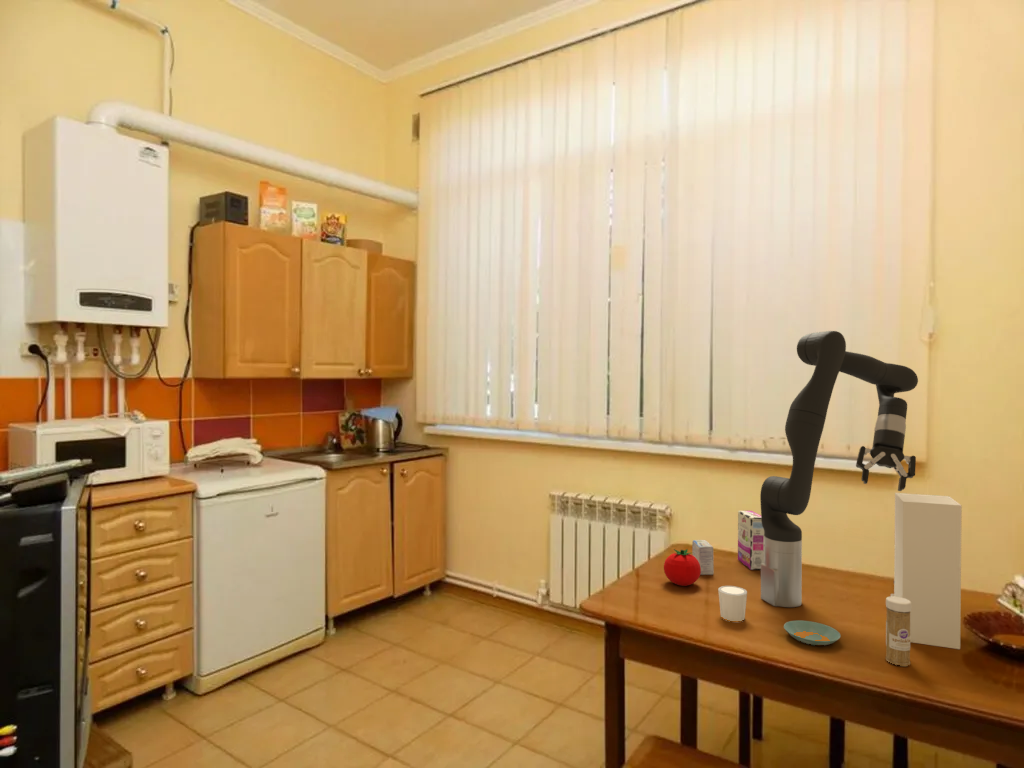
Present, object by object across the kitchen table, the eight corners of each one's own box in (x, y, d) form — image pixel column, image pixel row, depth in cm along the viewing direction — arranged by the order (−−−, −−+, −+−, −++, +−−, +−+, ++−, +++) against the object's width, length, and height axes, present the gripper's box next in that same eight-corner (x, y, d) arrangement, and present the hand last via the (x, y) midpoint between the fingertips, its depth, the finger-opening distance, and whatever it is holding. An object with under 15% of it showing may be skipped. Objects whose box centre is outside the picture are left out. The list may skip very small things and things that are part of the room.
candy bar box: (766, 570, 192) (766, 517, 191) (750, 570, 192) (750, 518, 191) (752, 559, 203) (752, 509, 202) (737, 559, 203) (737, 509, 202)
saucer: (792, 625, 151) (792, 615, 151) (845, 638, 143) (845, 628, 143) (777, 641, 142) (777, 631, 142) (833, 656, 134) (833, 646, 134)
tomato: (657, 585, 179) (657, 550, 179) (673, 576, 187) (673, 543, 187) (691, 593, 172) (691, 557, 172) (706, 583, 180) (707, 549, 180)
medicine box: (713, 575, 188) (713, 546, 187) (699, 575, 188) (699, 546, 188) (706, 567, 195) (706, 539, 195) (692, 567, 196) (692, 539, 195)
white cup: (717, 621, 153) (717, 593, 153) (718, 610, 159) (718, 584, 159) (747, 624, 151) (747, 596, 151) (746, 614, 157) (746, 586, 157)
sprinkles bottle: (897, 668, 128) (897, 604, 128) (880, 658, 133) (880, 596, 132) (916, 666, 129) (916, 602, 129) (898, 656, 134) (898, 594, 133)
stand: (960, 649, 137) (961, 505, 136) (902, 640, 141) (903, 501, 141) (947, 630, 147) (949, 496, 146) (894, 622, 151) (894, 492, 151)
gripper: (864, 423, 178) (856, 477, 173) (922, 434, 172) (915, 490, 167) (859, 431, 184) (851, 484, 180) (914, 441, 179) (908, 495, 174)
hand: (882, 486), depth 173 cm, fingers open, 8 cm apart
